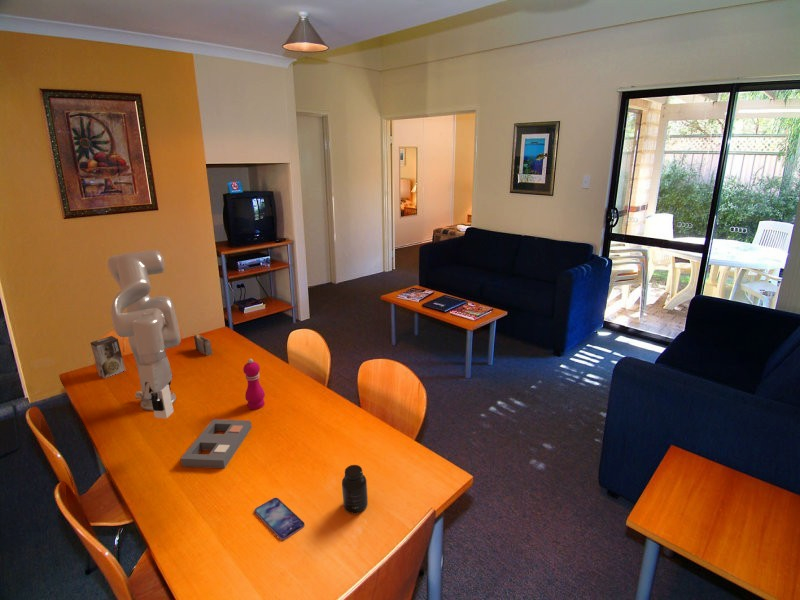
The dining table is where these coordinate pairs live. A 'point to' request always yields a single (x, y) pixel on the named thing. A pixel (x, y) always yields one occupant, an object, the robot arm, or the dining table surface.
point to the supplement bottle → (354, 490)
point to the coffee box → (108, 356)
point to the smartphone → (279, 518)
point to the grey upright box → (202, 344)
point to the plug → (165, 403)
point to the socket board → (217, 444)
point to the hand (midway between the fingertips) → (162, 405)
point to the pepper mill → (253, 385)
